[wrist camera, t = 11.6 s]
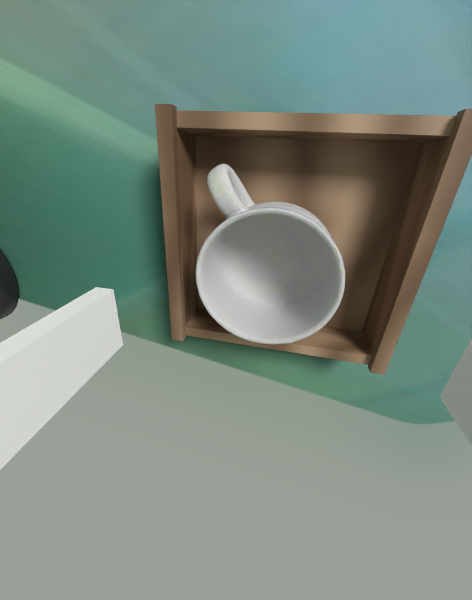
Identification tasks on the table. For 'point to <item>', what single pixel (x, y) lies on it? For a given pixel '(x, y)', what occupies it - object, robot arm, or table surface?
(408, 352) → the table surface
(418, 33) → the table surface
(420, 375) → the table surface
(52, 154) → the table surface
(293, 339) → the teacup
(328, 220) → the crate
